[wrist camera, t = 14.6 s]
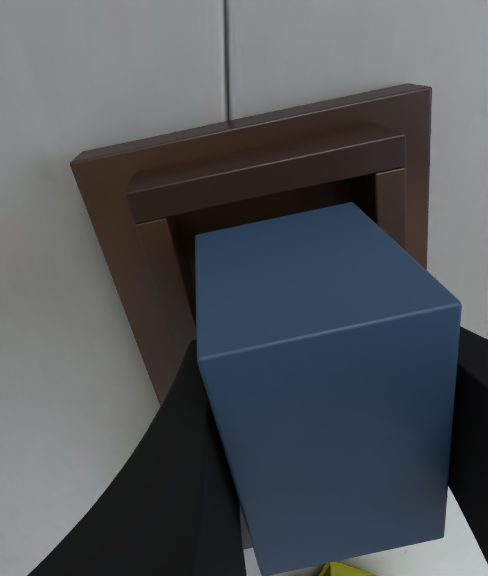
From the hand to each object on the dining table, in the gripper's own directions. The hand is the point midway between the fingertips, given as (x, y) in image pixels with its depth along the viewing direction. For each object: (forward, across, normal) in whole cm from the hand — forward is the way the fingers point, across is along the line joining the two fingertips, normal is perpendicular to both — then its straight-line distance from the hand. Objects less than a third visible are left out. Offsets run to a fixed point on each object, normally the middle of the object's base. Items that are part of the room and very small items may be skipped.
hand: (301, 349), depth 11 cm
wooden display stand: (+5, 0, +3) cm, 6 cm away
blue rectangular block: (+1, 0, 0) cm, 1 cm away
